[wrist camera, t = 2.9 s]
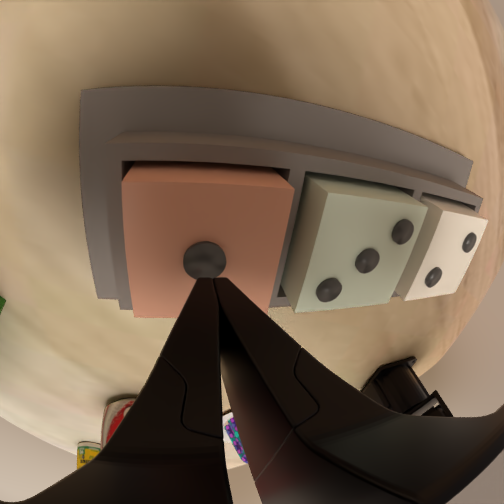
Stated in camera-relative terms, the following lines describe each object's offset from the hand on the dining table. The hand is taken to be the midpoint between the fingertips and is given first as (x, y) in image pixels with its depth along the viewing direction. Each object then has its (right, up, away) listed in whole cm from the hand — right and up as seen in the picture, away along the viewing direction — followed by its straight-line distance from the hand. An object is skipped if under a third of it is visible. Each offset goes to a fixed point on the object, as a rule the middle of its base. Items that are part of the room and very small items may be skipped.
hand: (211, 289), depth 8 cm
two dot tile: (+11, +2, +7) cm, 13 cm away
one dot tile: (-1, +2, +4) cm, 4 cm away
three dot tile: (+5, +2, +5) cm, 8 cm away
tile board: (+5, +4, +7) cm, 9 cm away
